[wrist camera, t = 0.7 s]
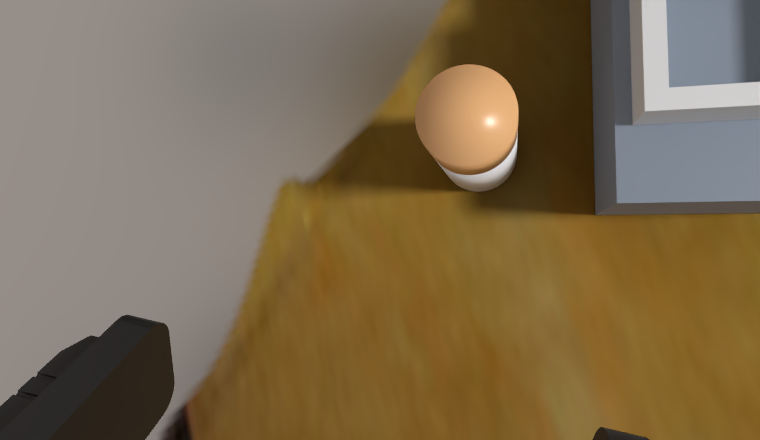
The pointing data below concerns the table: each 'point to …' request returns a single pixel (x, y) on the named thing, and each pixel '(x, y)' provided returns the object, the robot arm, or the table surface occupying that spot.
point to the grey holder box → (676, 106)
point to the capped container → (470, 125)
